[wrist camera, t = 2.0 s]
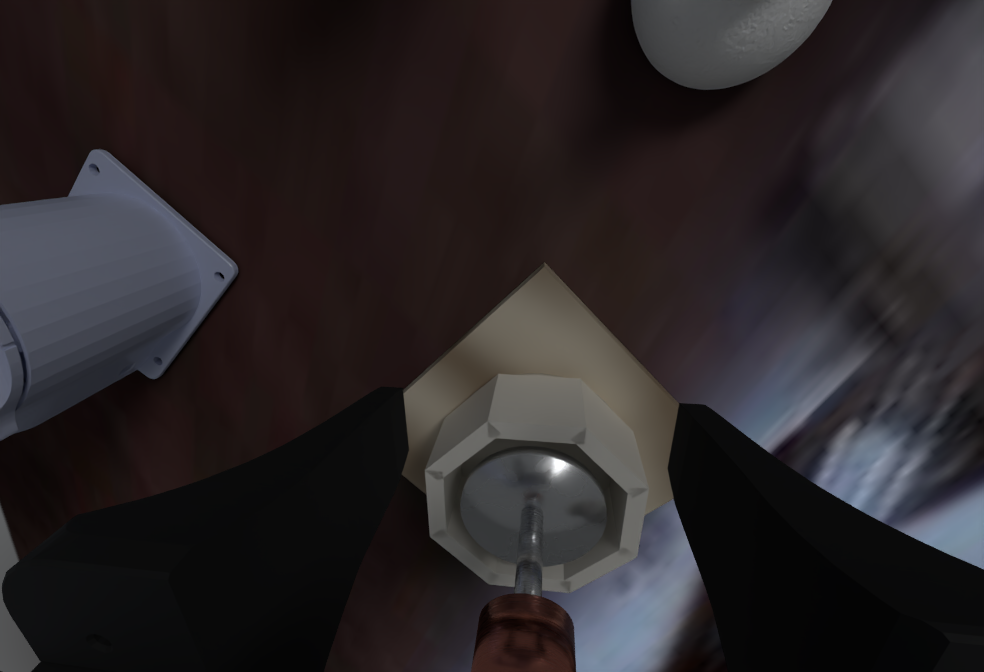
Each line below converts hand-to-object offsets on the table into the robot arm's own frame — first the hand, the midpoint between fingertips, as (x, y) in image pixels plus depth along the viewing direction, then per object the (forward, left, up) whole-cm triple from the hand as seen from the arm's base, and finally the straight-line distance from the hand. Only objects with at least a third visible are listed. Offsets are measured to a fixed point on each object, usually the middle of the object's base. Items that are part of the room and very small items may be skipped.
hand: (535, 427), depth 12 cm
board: (-6, -6, -10) cm, 13 cm away
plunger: (-6, -6, -6) cm, 10 cm away
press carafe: (-6, -6, -10) cm, 13 cm away
